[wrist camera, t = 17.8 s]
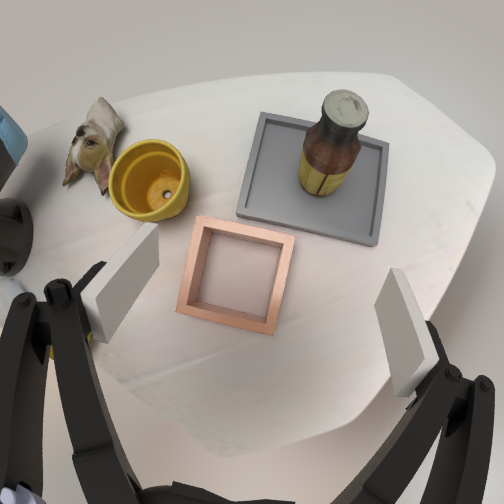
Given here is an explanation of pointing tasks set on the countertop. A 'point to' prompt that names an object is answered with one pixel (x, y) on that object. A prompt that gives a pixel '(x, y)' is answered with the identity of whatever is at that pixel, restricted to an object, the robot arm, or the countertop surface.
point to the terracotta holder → (196, 266)
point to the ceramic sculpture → (94, 145)
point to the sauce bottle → (332, 143)
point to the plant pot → (149, 181)
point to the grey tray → (303, 203)
